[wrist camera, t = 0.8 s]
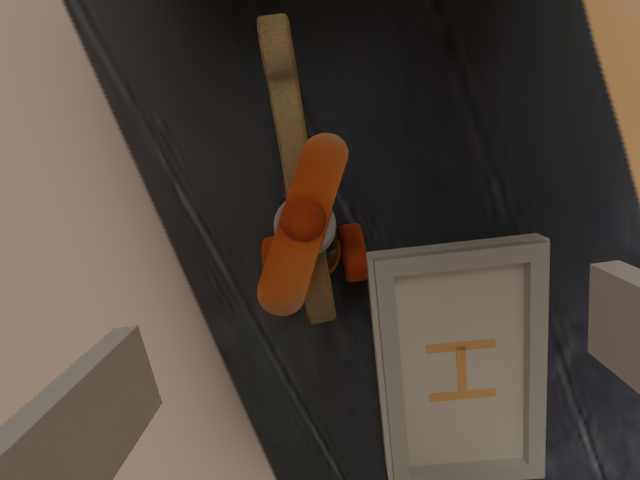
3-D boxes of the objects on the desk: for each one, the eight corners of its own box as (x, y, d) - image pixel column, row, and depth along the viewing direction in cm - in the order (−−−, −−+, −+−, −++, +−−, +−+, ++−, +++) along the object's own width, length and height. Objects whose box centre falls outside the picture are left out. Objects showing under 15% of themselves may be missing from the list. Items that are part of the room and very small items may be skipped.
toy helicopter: (279, 293, 34) (247, 384, 21) (230, 52, 30) (149, -30, 16) (367, 280, 34) (391, 365, 20) (331, 33, 29) (333, -67, 16)
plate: (364, 252, 33) (368, 262, 30) (536, 233, 32) (556, 241, 29) (385, 464, 38) (390, 489, 35) (533, 452, 38) (550, 477, 35)
